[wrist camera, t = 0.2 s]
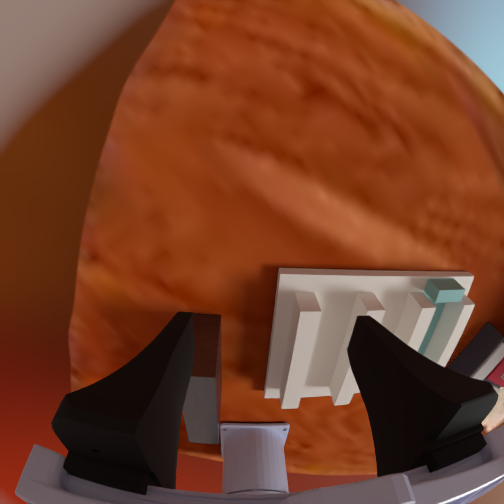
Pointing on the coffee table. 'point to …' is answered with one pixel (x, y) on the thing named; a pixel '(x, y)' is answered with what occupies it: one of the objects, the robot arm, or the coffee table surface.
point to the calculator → (483, 357)
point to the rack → (343, 320)
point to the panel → (204, 382)
